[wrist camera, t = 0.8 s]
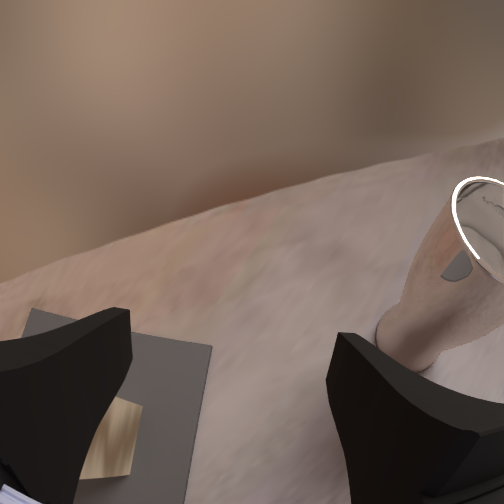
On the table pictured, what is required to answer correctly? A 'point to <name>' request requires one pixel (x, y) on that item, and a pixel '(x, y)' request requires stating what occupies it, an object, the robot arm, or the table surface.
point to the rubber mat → (150, 417)
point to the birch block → (113, 441)
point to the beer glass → (451, 279)
